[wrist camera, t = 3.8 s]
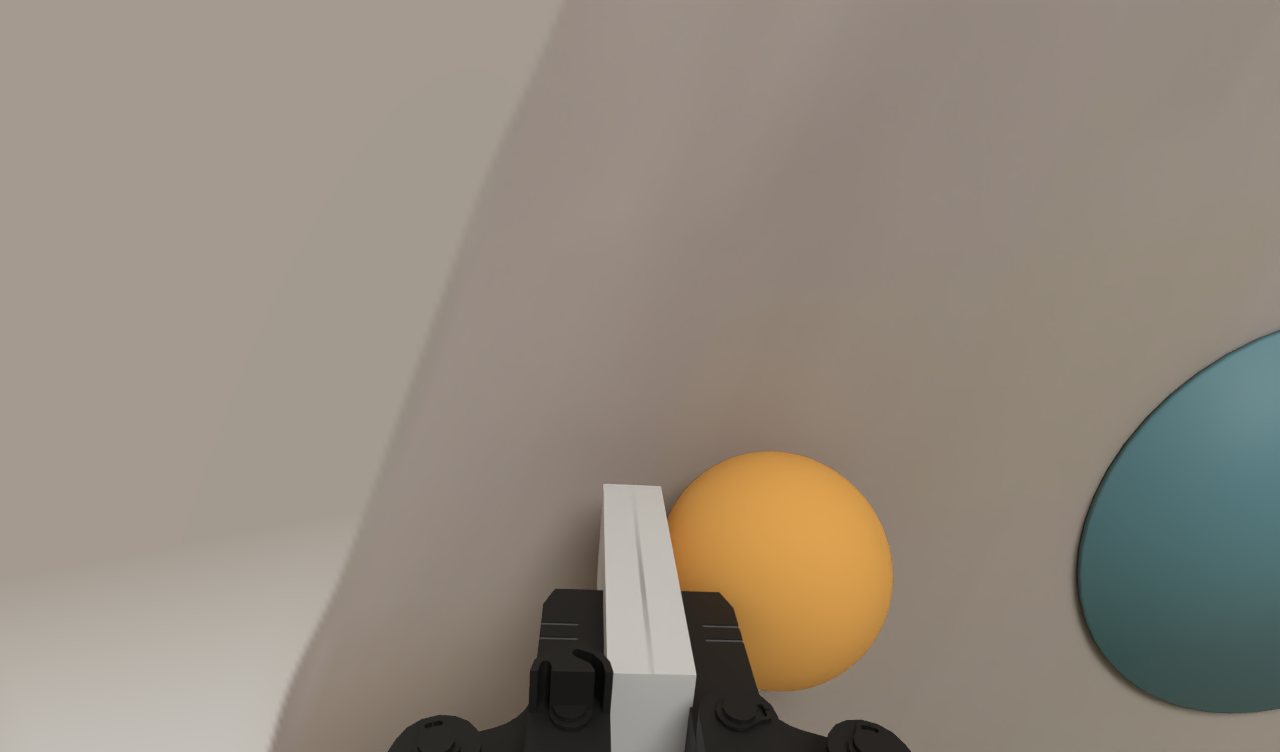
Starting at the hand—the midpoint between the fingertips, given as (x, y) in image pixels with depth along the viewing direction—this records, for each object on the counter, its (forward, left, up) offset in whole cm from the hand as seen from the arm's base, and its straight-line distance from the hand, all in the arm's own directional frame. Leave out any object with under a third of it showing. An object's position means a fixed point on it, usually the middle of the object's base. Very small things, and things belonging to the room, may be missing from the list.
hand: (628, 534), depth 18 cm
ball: (-3, 0, +1) cm, 4 cm away
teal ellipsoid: (-20, 0, -2) cm, 20 cm away
